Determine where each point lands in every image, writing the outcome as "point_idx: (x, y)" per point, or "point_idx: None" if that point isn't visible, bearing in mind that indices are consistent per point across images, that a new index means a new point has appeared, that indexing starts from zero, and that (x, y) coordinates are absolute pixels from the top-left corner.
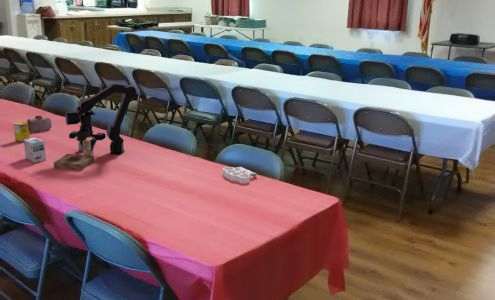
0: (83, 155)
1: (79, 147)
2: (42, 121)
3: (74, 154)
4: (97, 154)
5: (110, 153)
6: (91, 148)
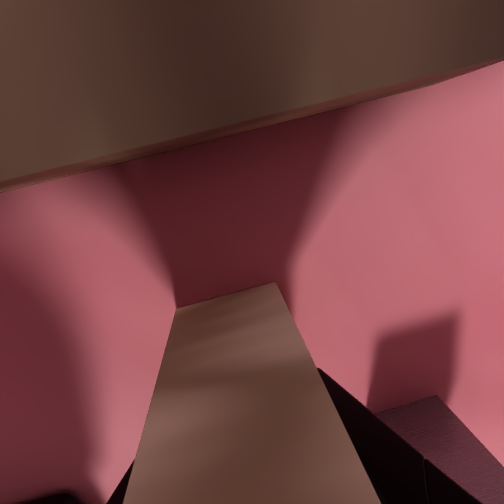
0: (91, 103)
1: (466, 441)
2: None
3: (357, 76)
4: None
5: (58, 496)
6: None
